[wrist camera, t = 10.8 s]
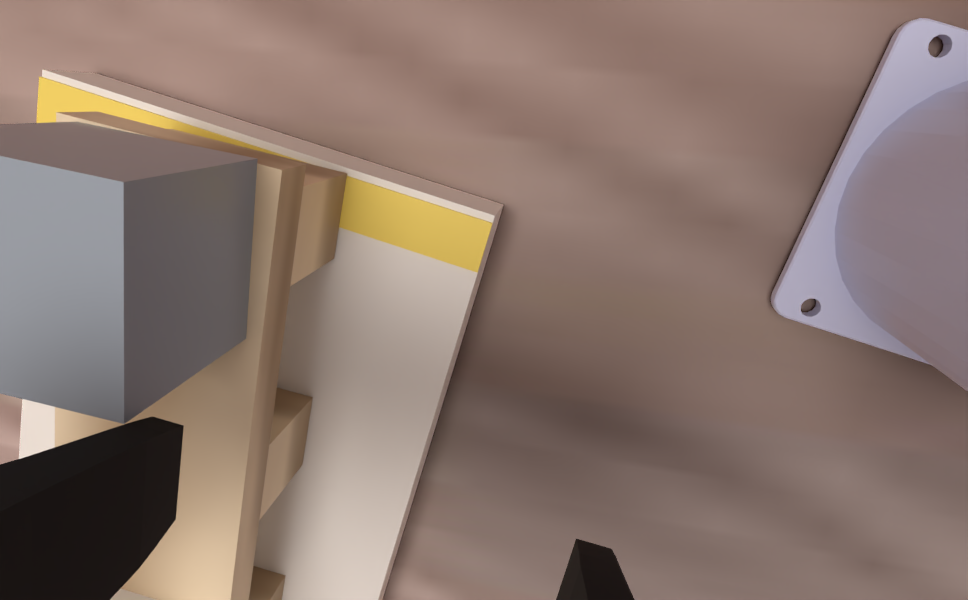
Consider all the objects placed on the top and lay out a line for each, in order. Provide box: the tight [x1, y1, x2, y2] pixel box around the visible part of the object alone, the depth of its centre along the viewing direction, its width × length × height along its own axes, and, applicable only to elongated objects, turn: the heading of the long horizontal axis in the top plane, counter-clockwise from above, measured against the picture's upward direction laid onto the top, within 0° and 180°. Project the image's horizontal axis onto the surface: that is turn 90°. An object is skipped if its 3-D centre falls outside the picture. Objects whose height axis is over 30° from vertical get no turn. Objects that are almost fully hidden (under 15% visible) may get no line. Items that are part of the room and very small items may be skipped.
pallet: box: [55, 111, 347, 600], centre depth 18 cm, size 5×17×4 cm, turn 167°
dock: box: [19, 69, 504, 600], centre depth 21 cm, size 13×17×2 cm
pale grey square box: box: [0, 121, 257, 424], centre depth 12 cm, size 4×4×4 cm
